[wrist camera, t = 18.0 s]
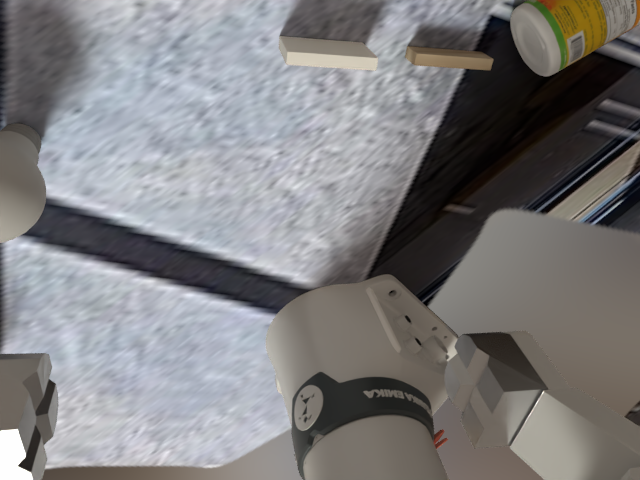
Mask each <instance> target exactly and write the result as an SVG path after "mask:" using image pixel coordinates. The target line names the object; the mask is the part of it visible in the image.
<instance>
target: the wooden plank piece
mask: <svg viewBox="0 0 640 480" xmlns="http://www.w3.org/2000/svg"><path fill="white" fill-rule="evenodd" d="M405 58H407V59H408V60H409V61H410V62H411V63H412V64H414V65H420V66H434V67H448V68H463V69H477V70H491V67H492V63H493V60H494V59H492V58H491V57H489V56H487V55H486V54H484V53H483V52H477V51H464V50H452V49H439V48H426V47H413V46H407V50H406V55H405Z"/></svg>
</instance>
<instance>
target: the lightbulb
mask: <svg viewBox="0 0 640 480" xmlns="http://www.w3.org/2000/svg"><path fill="white" fill-rule="evenodd" d="M40 148H41V139H40V136H39V135H38V133H37V132H36V131H35V130H34V129H32V128H31V127H29V126H27V125H25V124H20V123H13V124H9V125H7V126H6V127H4V128H3V129H2V130H1V131H0V243H2V242H6V241H9V240H12V239H14V238H16V237H18V236H20V235H22V234H23V233H25V232H26V231H28V230H29V229H30V228H31V227H32V226H33V225H34V224H35V223H36V222H37V220H38V219H39V217H40V216H41V214H42V212H43V209H44V206H45V203H46V186H45V181H44V178H43V176H42V174H41V172H40V170H39V168H38V166H37V164H38V159H39V156H38V154H39V152H40Z"/></svg>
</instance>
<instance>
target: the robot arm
mask: <svg viewBox="0 0 640 480" xmlns="http://www.w3.org/2000/svg"><path fill="white" fill-rule="evenodd" d="M392 290H395V291H394V292H392V293H389V292H390V291H392ZM266 351H267V354H268V357H269V359H270V361H271V363H272V365H273V367H274V370H275V373H276V375H275V383H276V387H277V390H278V392H279V393H280V394H282V395H283V399H284V402H285V406H286V409H287V412H288V416H289V419H290V423H291V426H292V439H293V445H294V451H295V454H294V456H295V461H296V463H297V466H298V470H299V473H300V475H301V477H302V479H303V480H449V477H448V475H447V473H446V470H445V468H444V466H443V464H442V461H441V459H440V457H439V454H438V452H437V448H438V447H440V446H441V445H442V444H443V443H445V442H446V441H447V440H448V439H447V438H445V439H443V440H442V441H440V442H438V443H437V444H435V443H436V442H437V441H438V440H439V439H440V437H441V436H442V434H443V433H444V430H440V431H439V432H438V433H436V434H435V435H434V425H433V416H432V415H433V414H434V413H435V412H436V411H437V410H438V408H439V407H440V406H441V405H442V404H443V403H444V402H445V400H446V399H447V398H448V397H449V399H450V401H451V403H452V404H453V405H454V406H456V407H457V408H458V409H459V410H461V411H462V417H461V423H462V425H463V427H464V429H465V431H466V433H467V435H468V437H469V439H470V441H471V443H472V445H473V447H474V449H476V448H489V447H502V446H511V447H510V449H512V450H513V451H514V452H515V453H516V454H517V455H518V456H519V457H520V458H521V459H522V460H523V461H525V462H526V463H527V464H528V465H529V466H530V467H531V468H532V469H534V471H536V472H537V473H538V474H539V475H540V476H541V477H542V478H543V479H544V480H640V427H639V426H638V425H636V424H634V423H633V422H631V421H630V420H628V419H626V418H625V417H623V416H621V415H620V414H618V413H617V412H615V411H613V410H612V409H610V408H609V407H607V406H606V405H604V404H602V403H601V402H599V401H597V400H596V399H594V398H593V397H591V396H590V395H588V394H586V393H585V392H583V391H582V390H580V389H578V388H570V386H569V384H568V383H567V382H566V381H565V379H564V378H563V377H562V375H561V374H560V373H559V371H558V370H557V369H556V367H555V366H554V364H553V363H552V362H551V360H550V359H549V358H548V356H547V355H546V354H545V353H544V351H543V350H542V348H541V347H540V346H539V344H538V343H537V342H536V340H535V339H534V338H533V336H532V335H531V334H529V333H528V332H526V331H513V332H492V333H474V334H462V335H461V336H460V337H458V335H457V334H456V333H455V332H454V331H453V330H452V329H451V328H450V327H449V326H448V325H447V324H446V323H444V322H443V321H442V320H441V319H440V318H439V317H438V316H437V315H436V314H435V313H433V311H432V310H430V309H429V308H428V307H427V306H425V305H424V304H423V303H422V302H421V301H420V300H419V299H418V298H417V297H416V296H415V295H414V294H413V293H411V292H410V291H409V290H408V289H407V288H406V287H405V286H404V285H403V284H402V283H401V282H400V281H399V280H397V279H396V278H395V277H394V276H392V275H389V274H384V275H380V276H376V277H373V278H371V279H368V280H365V281H363V282H359V283H349V284H335V285H329V286H324V287H321V288H317V289H314V290H311V291H309V292H307V293H304V294H302V295H301V296H299V297H297V298H295V299H294V300H292V301H291V302H290V303H288V304H287V305H286V306H285V307H284V308H282V309H281V310H280V311H279V313H278V314H277V315H276V316H275V318H274V319H273V321H272V322H271V324H270V326H269V328H268V331H267V335H266ZM457 353H458V354H457ZM51 369H52V365H51V361H50V357H49V354H46V353H30V354H0V480H42V477H43V473H44V469H45V465H46V462H47V457H46V453H45V449H44V444H45V443H46V442H47V441H48V440H50V439H51V438H52V437H53V434H54V430H55V426H56V422H57V413H58V392H57V387H56V384H55V383H54V382H52V381H51V380H50V379H49V376H50V373H51Z"/></svg>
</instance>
